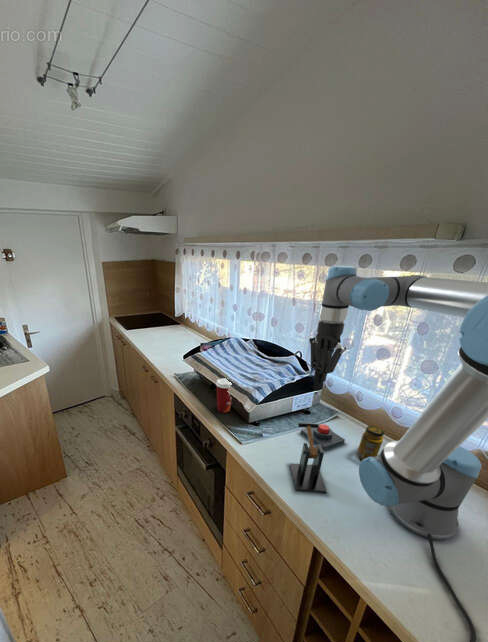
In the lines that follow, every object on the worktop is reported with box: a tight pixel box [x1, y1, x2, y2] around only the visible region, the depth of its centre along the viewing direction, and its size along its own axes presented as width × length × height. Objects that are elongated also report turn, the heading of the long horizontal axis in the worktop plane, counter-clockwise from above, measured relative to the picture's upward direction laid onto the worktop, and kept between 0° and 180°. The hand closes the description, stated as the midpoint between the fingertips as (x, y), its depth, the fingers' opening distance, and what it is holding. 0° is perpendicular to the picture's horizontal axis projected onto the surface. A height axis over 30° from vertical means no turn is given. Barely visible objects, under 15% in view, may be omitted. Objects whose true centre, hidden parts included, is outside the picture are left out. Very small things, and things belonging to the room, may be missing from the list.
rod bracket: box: [289, 442, 327, 494], centre depth 95 cm, size 12×9×13 cm
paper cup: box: [215, 377, 233, 414], centre depth 134 cm, size 8×8×14 cm
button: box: [318, 423, 330, 434], centre depth 115 cm, size 4×4×2 cm
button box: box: [300, 423, 346, 451], centre depth 116 cm, size 12×10×4 cm
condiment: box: [355, 425, 385, 462], centre depth 104 cm, size 7×8×12 cm
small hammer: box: [297, 422, 319, 460], centre depth 96 cm, size 12×6×2 cm, turn 172°
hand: (317, 389), depth 105 cm, fingers closed
